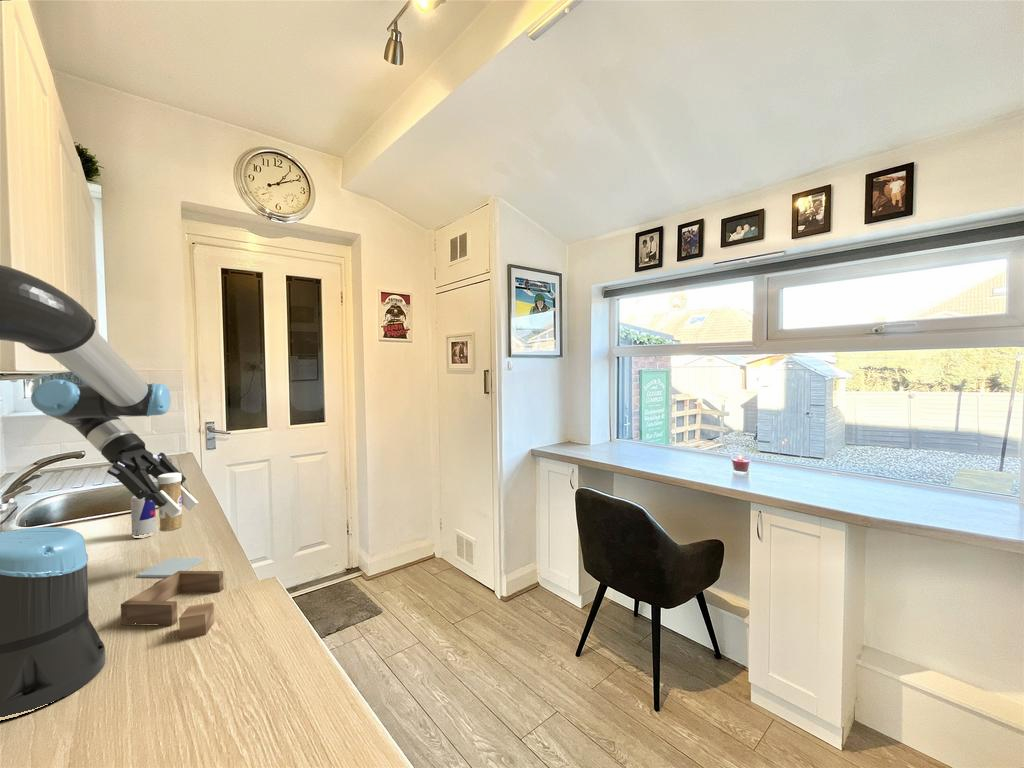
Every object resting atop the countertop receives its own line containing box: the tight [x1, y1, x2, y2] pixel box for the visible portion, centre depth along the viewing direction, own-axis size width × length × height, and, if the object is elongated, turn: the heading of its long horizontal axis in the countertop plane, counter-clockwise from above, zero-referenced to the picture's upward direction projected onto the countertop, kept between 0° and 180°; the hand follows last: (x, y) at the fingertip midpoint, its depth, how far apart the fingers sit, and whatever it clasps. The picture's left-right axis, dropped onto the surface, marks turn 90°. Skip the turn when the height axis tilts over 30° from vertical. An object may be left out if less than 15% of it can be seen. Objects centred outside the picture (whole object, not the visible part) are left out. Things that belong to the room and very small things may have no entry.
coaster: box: [136, 557, 205, 579], centre depth 103 cm, size 9×9×1 cm
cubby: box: [120, 570, 225, 626], centre depth 86 cm, size 13×10×4 cm
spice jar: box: [156, 472, 184, 532], centre depth 103 cm, size 5×5×13 cm
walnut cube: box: [178, 602, 215, 640], centre depth 78 cm, size 4×4×4 cm
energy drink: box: [130, 495, 157, 536], centre depth 124 cm, size 5×5×12 cm
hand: (185, 509), depth 103 cm, fingers closed on spice jar, 4 cm apart
